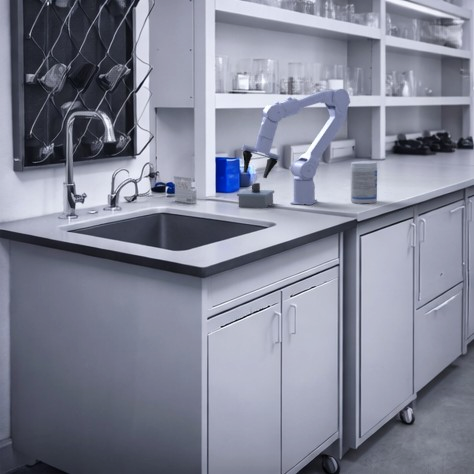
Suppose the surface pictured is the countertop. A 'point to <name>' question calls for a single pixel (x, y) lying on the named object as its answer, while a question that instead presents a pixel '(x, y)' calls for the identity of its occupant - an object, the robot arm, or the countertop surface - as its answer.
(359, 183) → the supplement tub
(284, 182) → the countertop surface
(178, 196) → the ink cartridge box
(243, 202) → the box
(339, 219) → the countertop surface
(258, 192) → the lid
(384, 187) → the countertop surface
